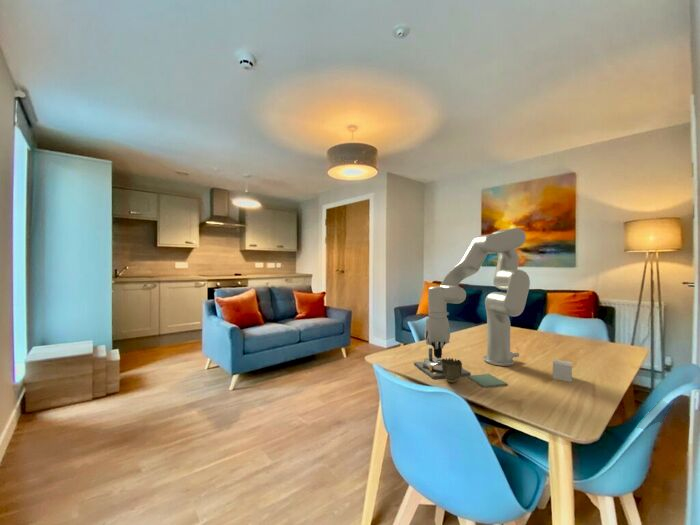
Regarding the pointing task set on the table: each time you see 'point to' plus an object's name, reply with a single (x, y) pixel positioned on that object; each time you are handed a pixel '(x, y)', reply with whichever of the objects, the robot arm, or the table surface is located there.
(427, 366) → the sprocket wheel
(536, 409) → the table surface
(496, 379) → the seat mat
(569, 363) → the grey cube
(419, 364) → the index board
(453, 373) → the cup
